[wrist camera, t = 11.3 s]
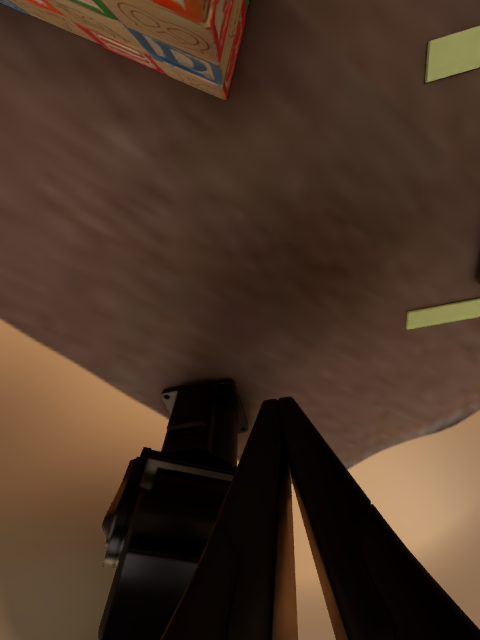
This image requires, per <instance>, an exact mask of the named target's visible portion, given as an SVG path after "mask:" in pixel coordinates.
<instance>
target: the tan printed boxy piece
mask: <svg viewBox="0 0 480 640" xmlns="http://www.w3.org/2000/svg"><path fill="white" fill-rule="evenodd" d="M249 1H250V0H0V3H2V4H4V5H6V6H9V7H11V8H13V9H16V10H18V11H20V12H23V13H25V14H27V15H31V16H35V17H37V18H39V19H41V20H43V21H45V22H48V23H50V24H53V25H55V26H57V27H60V28H62V29H64V30H67V31H69V32H71V33H74V34H76V35H79V36H81V37H83V38H86V39H88V40H91V41H93V42H95V43H98V44H100V45H102V46H103V47H104V48H105V49H107V50H110V51H112V52H114V53H116V54H118V55H121V56H123V57H126V58H128V59H130V60H133V61H135V62H137V63H140V64H142V65H144V66H147V67H149V68H151V69H154V70H156V71H158V72H161V73H163V74H166V75H168V76H170V77H171V78H174V79H176V80H178V81H180V82H183V83H185V84H187V85H190V86H192V87H194V88H197V89H199V90H201V91H204V92H206V93H208V94H211V95H213V96H216V97H218V98H220V99H223V100H226V99H227V96H228V92H229V88H230V84H231V80H232V76H233V72H234V68H235V63H236V59H237V55H238V51H239V47H240V43H241V39H242V34H243V30H244V26H245V16H246V12H247V8H248V5H249Z"/></svg>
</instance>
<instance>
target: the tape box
mask: <svg viewBox="0 0 480 640" xmlns="http://www.w3.org/2000/svg"><path fill="white" fill-rule="evenodd" d="M476 68H480V26H477V27H474V28H471V29H467V30H464V31H461V32H458V33H454V34H451V35H448V36H445V37H441V38H438V39H435V40H432V41H429V42H428V47H427V60H426V73H425V83H428V82H431V81H435V80H438V79H442V78H445V77H449V76H452V75H456V74H459V73H463V72H466V71H470V70H473V69H476ZM476 317H480V298H476V299H471V300H466V301H460V302H455V303H450V304H444V305H439V306H434V307H428V308H423V309H418V310H412V311H407V318H406V329H407V330H409V329H414V328H420V327H425V326H431V325H437V324H442V323H448V322H453V321H459V320H464V319H470V318H476Z"/></svg>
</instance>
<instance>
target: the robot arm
mask: <svg viewBox="0 0 480 640" xmlns="http://www.w3.org/2000/svg"><path fill="white" fill-rule="evenodd" d="M228 385H230V386H228ZM167 395H168V396H167ZM161 398H162V400H163V402H164V404H165V406H166V408H167V410H168V411H169V413H170V415H171V416H170V419H169V422H168V426H167V433H166V436H165V440H164V444H163V447H162V450H161V452H159V451H155V450H151V448H147V447H144V448H143V450H142V453H141V455H140V457H137V458H136V459H134V460H131V461H130V462H129V465H128V468H127V470H126V473H125V476H124V478H123V481H122V483H121V486H120V488H119V490H118V492H117V494H116V496H115V498H114V500H113V502H112V504H111V506H110V508H109V510H108V512H107V514H106V516H105V518H104V521H103V524H102V529H103V532H104V534H105V536H106V539H107V541H106V545H105V548H106V549H107V551H106V555H105V559H104V563H103V567H110V568H114V567H115V568H117V569H116V572H115V576H114V579H113V582H112V586H111V589H110V592H109V596H108V600H107V603H106V606H105V609H104V613H103V616H102V620H101V623H100V626H99V632H98V639H99V640H298V626H297V604H296V582H295V559H294V538H293V537H294V536H293V515H292V491H291V478H292V482H293V486H294V490H295V493H296V497H297V500H298V504H299V508H300V511H301V515H302V519H303V522H304V526H305V529H306V533H307V537H308V540H309V544H310V548H311V551H312V555H313V558H314V562H315V566H316V569H317V573H318V576H319V580H320V584H321V587H322V591H323V595H324V598H325V601H326V605H327V609H328V612H329V616H330V620H331V623H332V627H333V630H334V634H335V638H336V640H480V630H479V629H478V627H477V626H476V625H475V624H474V623H473V622H472V621H471V620H470V618H469V617H468V616H467V615H466V614H465V613H464V612H463V611H462V610H461V609H460V607H459V606H458V605H457V604H456V603H455V602H454V601H453V600H452V599H451V597H450V596H449V595H448V594H447V593H446V592H445V591H444V590H443V588H441V586H440V585H439V584H438V583H437V582H436V581H435V580H434V579H433V577H432V576H431V575H430V574H429V573H428V572H427V571H426V569H425V568H424V567H423V566H422V565H421V563H420V562H419V561H418V560H417V559H416V558H415V557H414V555H413V554H412V553H411V552H410V551H409V550H408V549H407V547H406V546H405V545H404V544H403V542H402V541H401V540H400V538H399V537H398V536H397V535H396V533H395V532H394V531H393V530H392V528H391V527H390V526H389V525H388V524H387V522H386V521H385V519H384V518H383V517H382V515H381V514H380V513H379V511H378V510H377V509H376V507H375V506H374V505H373V504H371V501H370V500H369V499H368V497H367V496H366V494H365V493H364V492H363V490H362V489H361V488H360V486H359V485H358V484H357V483H356V481H355V480H354V478H353V477H352V476H351V475H350V473H349V472H348V470H347V469H346V468H345V466H344V465H343V464H342V462H341V461H340V460H339V458H338V457H337V456H336V454H335V453H334V452H333V450H332V449H331V448H330V446H329V445H328V444H327V443H326V441H325V440H324V439H323V437H322V436H321V435H320V433H319V432H318V431H317V429H316V428H315V427H314V425H313V424H312V423H311V421H310V420H309V419H308V417H307V416H306V415H305V413H304V412H303V411H302V409H301V408H300V407H299V405H298V404H297V403H296V401H295V400H294V399H293V398H292V397H283V398H279V399H278V400H277V399H268V400H264V401H263V403H262V405H261V408H260V410H259V413H258V415H257V418H256V421H255V423H254V426H253V428H252V431H251V433H250V436H249V438H248V441H247V443H246V446H245V448H244V451H243V454H242V456H241V459H240V461H239V464H238V466H237V439H238V433H244V432H247V431H248V430H249V428H248V422H247V419H246V416H245V413H244V410H243V407H242V404H241V401H240V398H239V395H238V392H237V389H236V386H235V383H234V381H233V380H231V379H224V380H219V381H213V382H207V383H201V384H195V385H189V386H183V387H178V388H172V389H166V390H163V391H162V394H161ZM289 468H290V469H289ZM290 473H291V476H290Z"/></svg>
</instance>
